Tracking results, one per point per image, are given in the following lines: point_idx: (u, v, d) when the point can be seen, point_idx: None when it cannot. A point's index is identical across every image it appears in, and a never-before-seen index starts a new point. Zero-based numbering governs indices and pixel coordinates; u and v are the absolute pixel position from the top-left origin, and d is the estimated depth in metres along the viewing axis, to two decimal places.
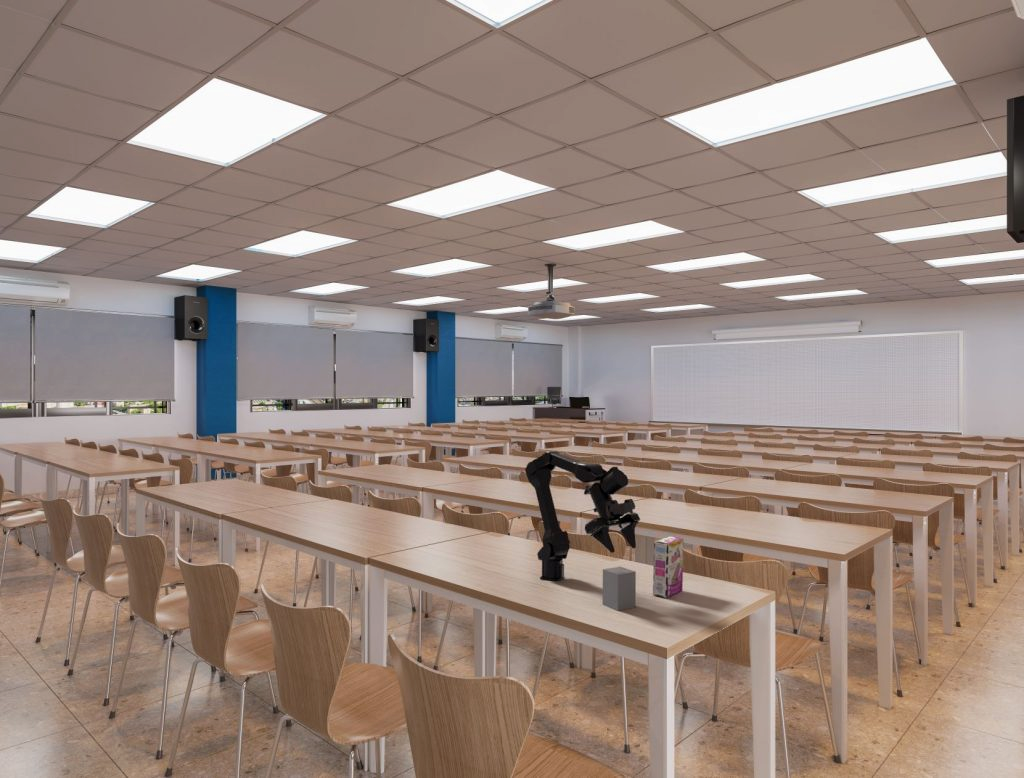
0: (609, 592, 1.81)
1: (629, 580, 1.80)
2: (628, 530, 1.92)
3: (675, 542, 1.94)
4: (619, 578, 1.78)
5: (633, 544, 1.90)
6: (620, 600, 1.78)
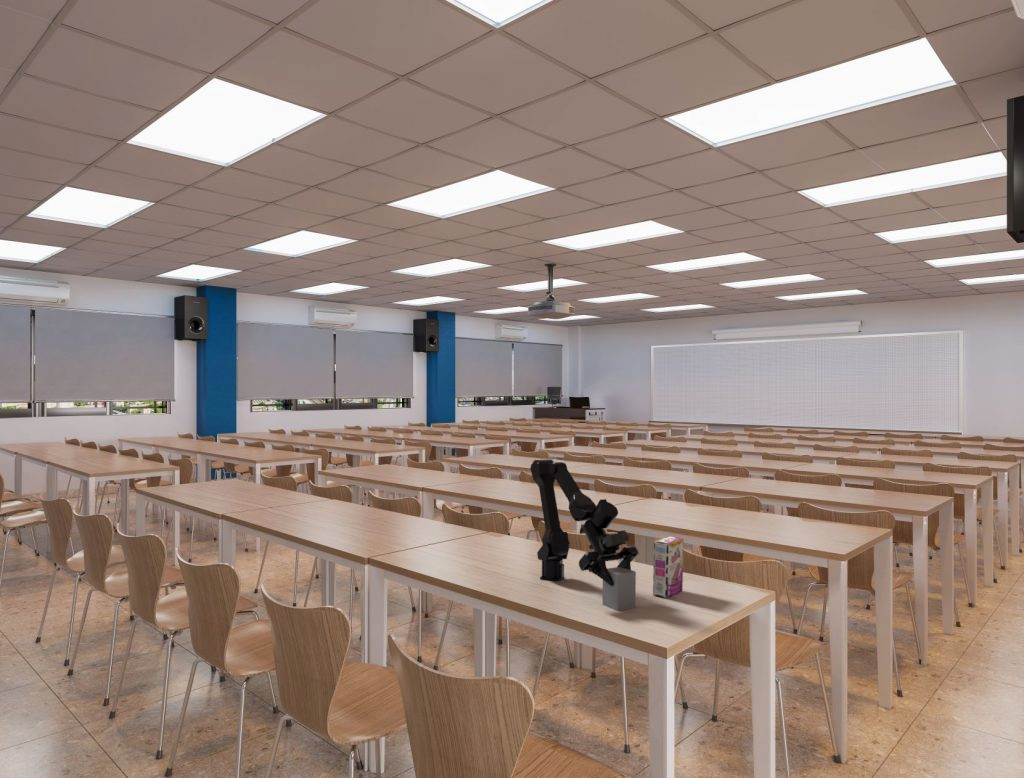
0: (609, 592, 1.81)
1: (629, 580, 1.80)
2: (624, 564, 1.86)
3: (675, 542, 1.94)
4: (619, 578, 1.78)
5: None
6: (620, 600, 1.78)
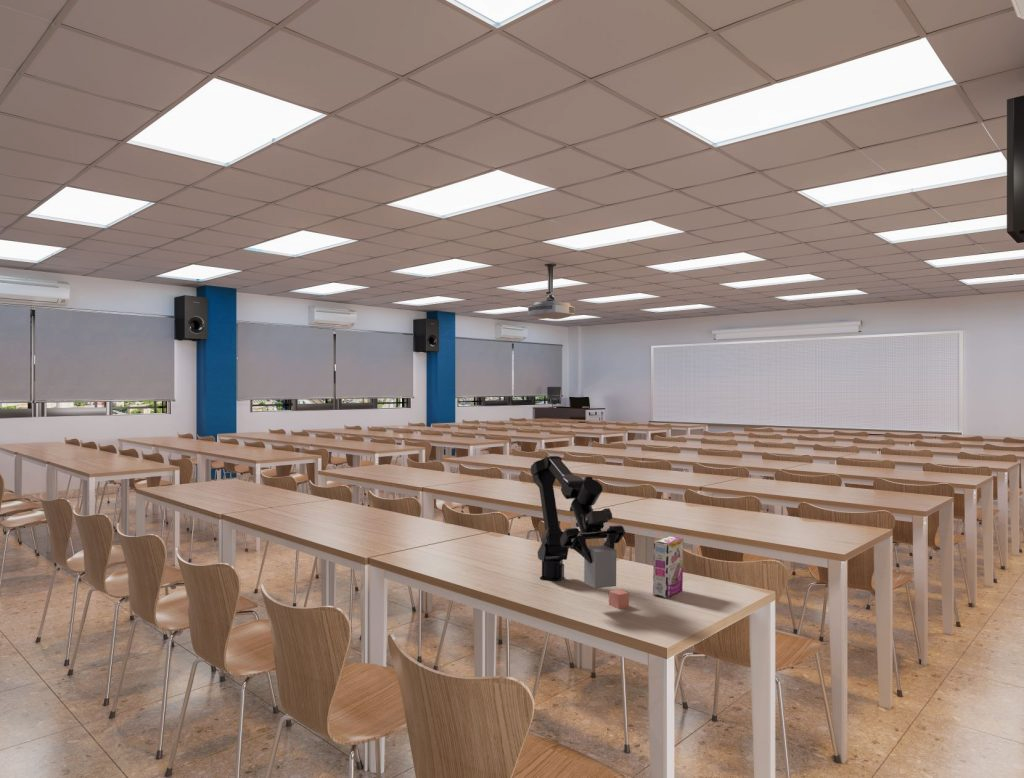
0: (589, 569, 1.79)
1: (609, 558, 1.77)
2: (608, 543, 1.83)
3: (675, 542, 1.94)
4: (597, 555, 1.76)
5: None
6: (598, 578, 1.76)
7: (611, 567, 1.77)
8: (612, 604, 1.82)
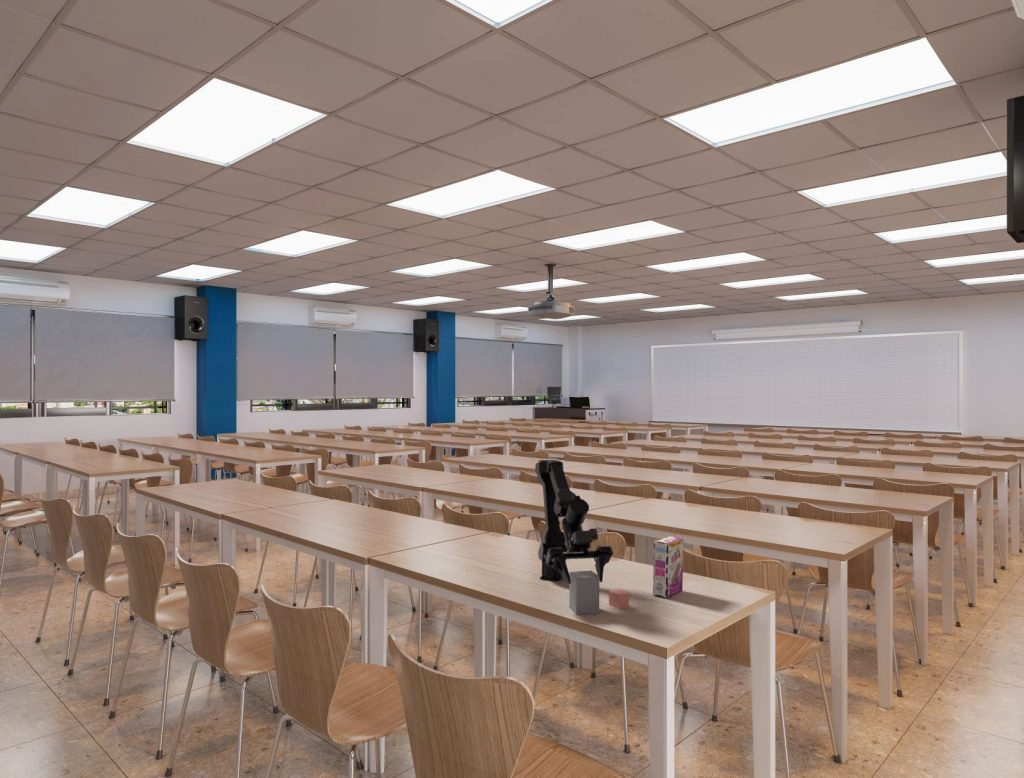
0: (572, 595, 1.78)
1: (591, 585, 1.75)
2: (598, 563, 1.82)
3: (675, 542, 1.94)
4: (578, 581, 1.74)
5: (600, 577, 1.78)
6: (579, 604, 1.74)
7: (594, 594, 1.75)
8: (612, 604, 1.82)
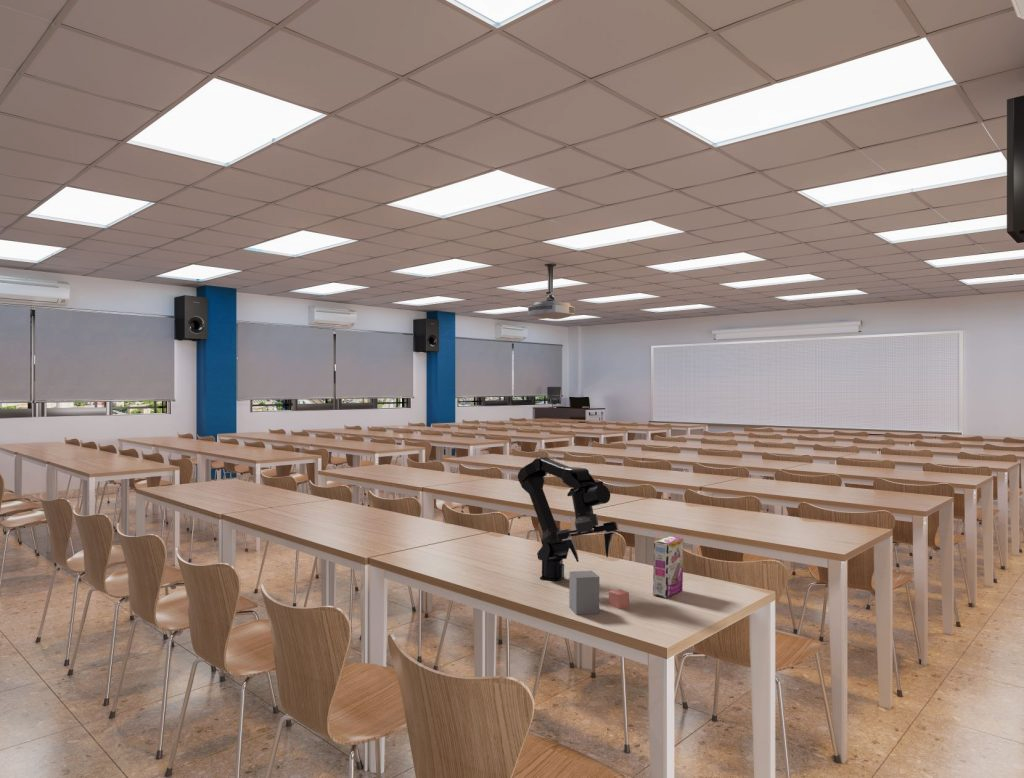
0: (572, 595, 1.78)
1: (591, 585, 1.75)
2: None
3: (675, 542, 1.94)
4: (578, 581, 1.74)
5: (606, 553, 1.94)
6: (579, 604, 1.74)
7: (594, 594, 1.75)
8: (612, 604, 1.82)
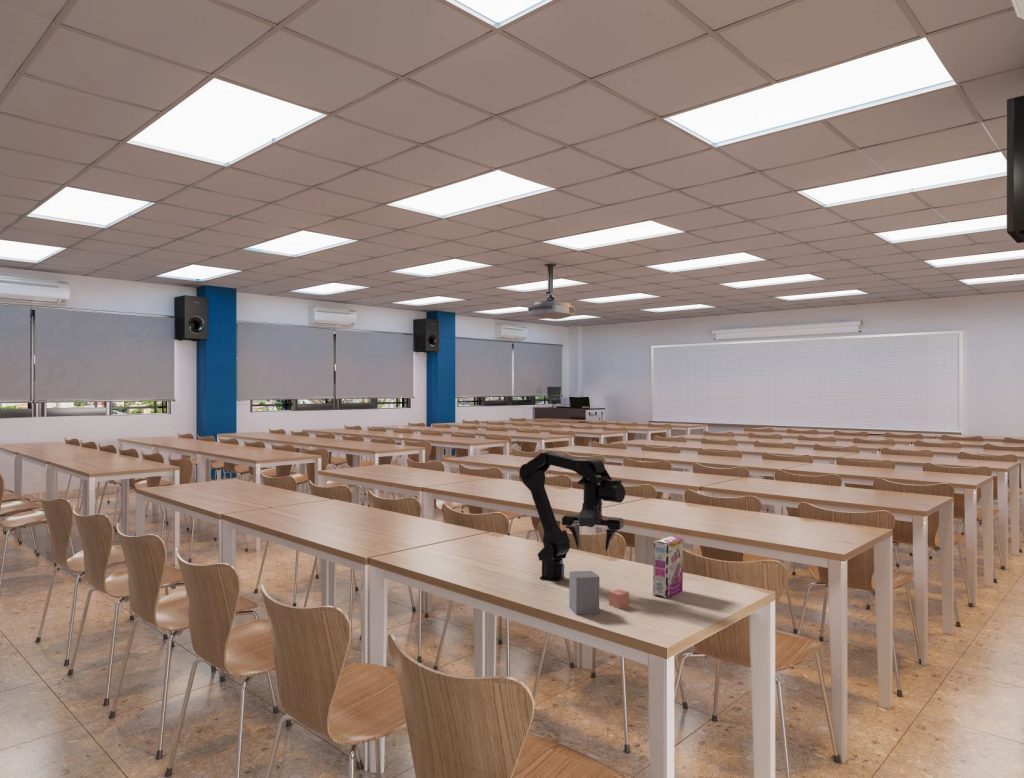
0: (572, 595, 1.78)
1: (591, 585, 1.75)
2: None
3: (675, 542, 1.94)
4: (578, 581, 1.74)
5: None
6: (579, 604, 1.74)
7: (594, 594, 1.75)
8: (612, 604, 1.82)
